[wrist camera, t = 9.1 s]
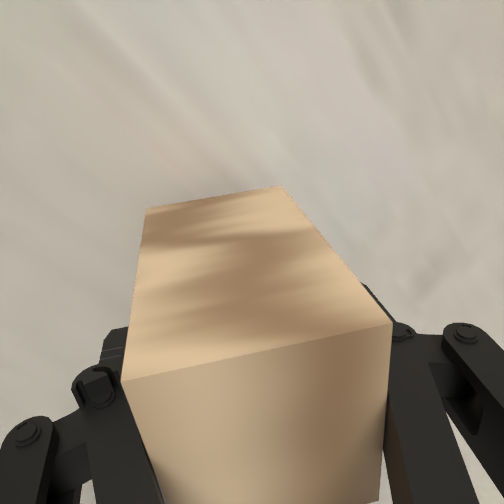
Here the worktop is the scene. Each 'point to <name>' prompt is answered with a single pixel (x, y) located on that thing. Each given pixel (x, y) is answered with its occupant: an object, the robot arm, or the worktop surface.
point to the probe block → (254, 357)
